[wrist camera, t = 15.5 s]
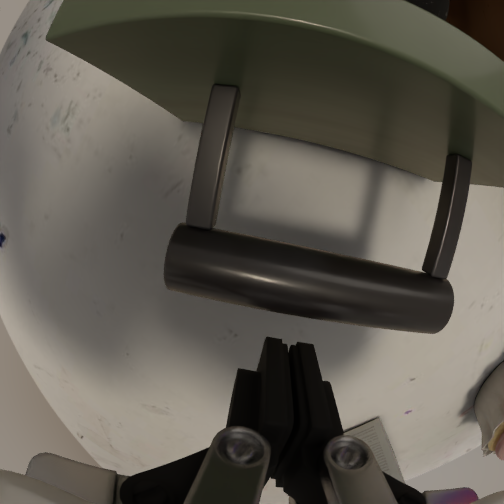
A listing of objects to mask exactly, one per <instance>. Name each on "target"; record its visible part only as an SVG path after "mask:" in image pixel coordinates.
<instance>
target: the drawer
mask: <svg viewBox="0 0 504 504" xmlns="http://www.w3.org/2000/svg"><path fill="white" fill-rule="evenodd" d="M46 40H47V41H48V42H50V43H52V44H54V45H56V46H58V47H60V48H62V49H64V50H66V51H68V52H70V53H71V54H73V55H75V56H77V57H79V58H81V59H83V60H84V61H86V62H88V63H90V64H92V65H93V66H95V67H97V68H99V69H101V70H102V71H104V72H106V73H107V74H109V75H111V76H113V77H114V78H116V79H118V80H119V81H121V82H123V83H124V84H126V85H128V86H129V87H131V88H133V89H134V90H136V91H137V92H139V93H141V94H142V95H144V96H145V97H147V98H149V99H150V100H152V101H153V102H155V103H156V104H158V105H159V106H161V107H162V108H164V109H166V110H167V111H169V112H170V113H172V114H173V115H175V116H176V117H178V118H179V119H181V120H182V121H188V122H198V123H203V127H202V132H201V137H200V142H199V147H198V152H197V157H196V162H195V168H194V173H193V179H192V184H191V190H190V196H189V203H188V209H187V216H186V223H180V224H178V225H177V227H176V228H175V230H174V232H173V234H172V236H171V238H170V241H169V244H168V248H167V252H166V257H165V264H164V281H165V285H166V287H167V288H168V289H169V290H172V291H177V292H181V293H185V294H189V295H194V296H198V297H203V298H207V299H212V300H216V301H221V302H226V303H231V304H236V305H240V306H245V307H251V308H256V309H261V310H266V311H271V312H277V313H282V314H288V315H294V316H300V317H306V318H312V319H318V320H324V321H331V322H337V323H344V324H351V325H358V326H366V327H374V328H382V329H390V330H399V331H408V332H417V333H428V334H435V333H437V332H439V331H441V330H442V329H443V328H444V327H445V326H446V324H447V323H448V321H449V319H450V317H451V314H452V311H453V306H454V293H453V289H452V286H451V284H450V282H449V281H448V280H447V279H446V278H447V276H448V273H449V270H450V267H451V263H452V260H453V257H454V253H455V250H456V246H457V242H458V238H459V234H460V230H461V226H462V222H463V217H464V212H465V207H466V202H467V197H468V191H469V185H470V184H475V185H486V186H495V187H504V0H449V11H448V16H447V19H446V21H445V20H443V19H441V18H439V17H437V16H436V15H434V14H432V13H430V12H428V11H426V10H424V9H422V8H420V7H418V6H416V5H414V4H412V3H410V2H408V1H405V0H64V1H63V2H62V4H61V6H60V8H59V10H58V12H57V14H56V16H55V18H54V20H53V22H52V24H51V27H50V29H49V31H48V33H47V36H46ZM234 127H236V128H243V129H249V130H255V131H260V132H266V133H271V134H276V135H281V136H286V137H291V138H295V139H300V140H304V141H308V142H313V143H317V144H321V145H325V146H329V147H332V148H336V149H340V150H343V151H347V152H350V153H354V154H357V155H361V156H364V157H367V158H370V159H374V160H377V161H380V162H383V163H386V164H389V165H392V166H395V167H397V168H400V169H403V170H406V171H409V172H411V173H414V174H417V175H419V176H422V177H424V178H427V179H429V180H432V181H434V182H442V188H441V193H440V198H439V203H438V208H437V213H436V217H435V222H434V226H433V230H432V234H431V238H430V242H429V245H428V249H427V252H426V256H425V259H424V263H423V266H422V270H423V271H424V272H425V273H424V272H420V271H415V270H411V269H406V268H402V267H397V266H393V265H388V264H384V263H379V262H375V261H370V260H366V259H361V258H357V257H352V256H347V255H343V254H338V253H333V252H329V251H324V250H319V249H314V248H309V247H305V246H300V245H295V244H290V243H285V242H280V241H275V240H270V239H266V238H261V237H256V236H251V235H246V234H240V233H235V232H230V231H225V230H220V229H215V228H213V227H214V226H215V225H216V221H217V215H218V209H219V203H220V198H221V192H222V187H223V181H224V176H225V171H226V165H227V160H228V155H229V150H230V145H231V140H232V135H233V130H234Z"/></svg>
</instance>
